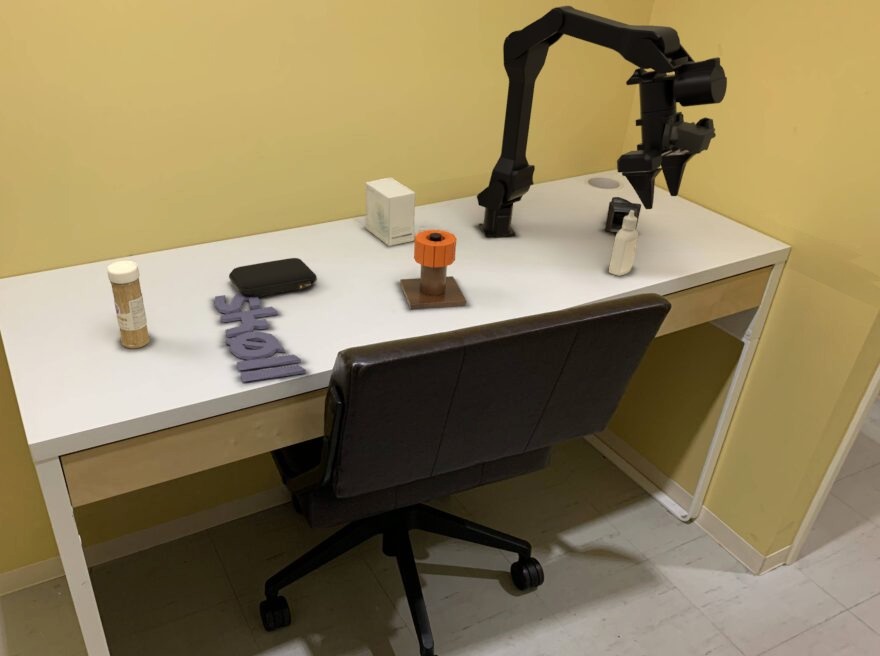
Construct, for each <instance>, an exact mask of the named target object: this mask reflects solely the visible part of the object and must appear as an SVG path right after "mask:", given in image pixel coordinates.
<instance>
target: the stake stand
mask: <svg viewBox="0 0 880 656" xmlns="http://www.w3.org/2000/svg"><path fill="white" fill-rule="evenodd" d="M441 237H442V235H441V234H440V233H431V234H430V241H435V242H437V241H441ZM447 273H448V266H445V267H427V266H424V265H423V266H422V265H420V274H419V275H420V277H417V278H401V279H400V280H399V285H400V288H401V290H402V292H403V295H404V297H405V300H406V301H407V305H408V307H409V309H410V310H419V309H420V310H421V309H423V310H424V309H436V308H437V309H438V308H450V307H453V308H454V307H465V306H467V299H466V297H465V295H464V293H463V292H462V290H461V288H460V287H459V285H458V283H457V281H456V279H455V278H454V276H453V275H451V276H450V275H449V276H447Z"/></svg>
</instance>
